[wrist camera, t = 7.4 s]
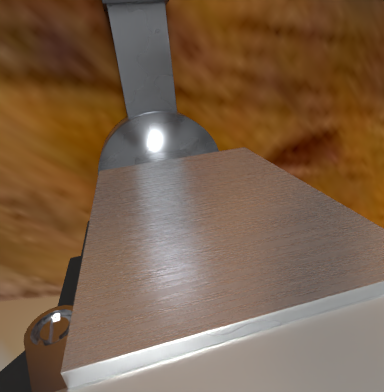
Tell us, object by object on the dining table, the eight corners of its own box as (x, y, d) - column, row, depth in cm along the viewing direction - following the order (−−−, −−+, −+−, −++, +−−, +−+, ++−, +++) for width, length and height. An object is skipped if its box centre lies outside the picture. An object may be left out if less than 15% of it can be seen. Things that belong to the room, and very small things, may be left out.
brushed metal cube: (244, 147, 12) (443, 263, 4) (245, 260, 14) (372, 447, 7) (99, 170, 11) (60, 372, 3) (128, 288, 13) (141, 542, 6)
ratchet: (189, -181, 13) (237, -352, 8) (214, 204, 22) (244, 245, 17) (10, -193, 12) (-80, -412, 6) (114, 224, 21) (112, 276, 15)
